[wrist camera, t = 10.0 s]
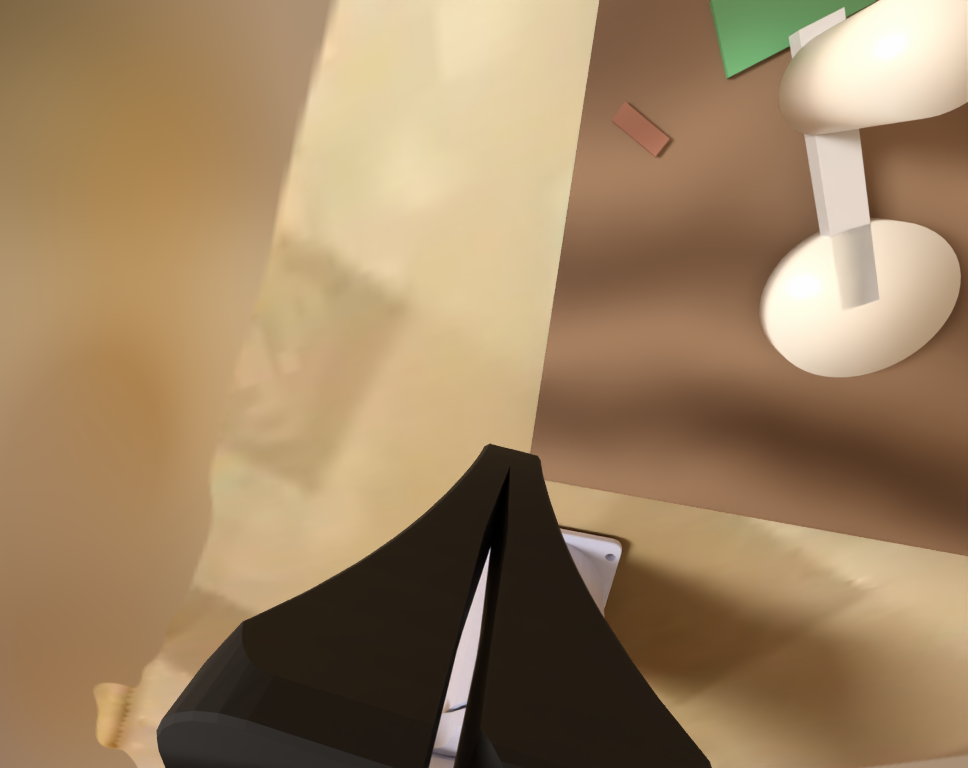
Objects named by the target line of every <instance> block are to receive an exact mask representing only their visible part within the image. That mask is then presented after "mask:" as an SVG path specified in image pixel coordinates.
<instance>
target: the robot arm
mask: <svg viewBox="0 0 968 768" xmlns="http://www.w3.org/2000/svg"><path fill="white" fill-rule="evenodd" d="M621 553H622V545H621V543H620V542H619V541H618V540H616V539H612V538H607V537H602V536H596V535H591V534H586V533H581V532H576V531H571V530H565V529H560V527H559V525H558V522H557V519H556V516H555V514H554V511H553V508H552V505H551V502H550V499H549V495H548V492H547V488H546V485H545V481H544V477H543V472H542V466H541V460H540V459H539V457H538V456H537V455H533V454H529V453H525V452H521V451H517V450H513V449H509V448H504V447H500V446H496V445H492V444H488V445H486V446H485V447H484V448H483V450H482V452H481V453H480V455H479V456H478V458H477V459H476V460H475V462H474V463H473V464H472V465H471V467H470V468H469V469H468V470H467V472H466V473H465V474H464V475H463V476H462V477H461V478H460V479H459V480H458V481H457V483H456V484H455V485H454V486H453V487H452V488H451V489H450V490H449V491H448V492H447V493H446V494H445V495H444V496H443V497H442V498H441V499H440V500H439V501H438V502H436V503H435V504H434V505H433V506H432V507H431V508H430V509H429V510H428V511H427V512H426V513H425V514H423V515H422V516H421V517H420V518H419V519H417V520H416V521H415V522H414V523H413V524H411V525H410V526H409V527H408V528H406V529H405V530H404V531H402V532H401V533H400V534H398V535H397V536H396V537H394V538H393V539H392V540H390V541H389V542H387V543H386V544H384V545H383V546H382V547H380V548H379V549H377V550H376V551H374V552H373V553H371V554H370V555H368V556H367V557H365V558H364V559H362V560H361V561H359V562H357V563H356V564H354V565H353V566H351V567H349V568H347V569H346V570H344V571H342V572H340V573H338V574H337V575H335V576H333V577H331V578H330V579H328V580H326V581H324V582H323V583H321V584H319V585H317V586H316V587H314V588H312V589H310V590H308V591H306V592H304V593H302V594H300V595H298V596H296V597H294V598H292V599H290V600H288V601H286V602H284V603H281V604H279V605H277V606H275V607H273V608H271V609H269V610H267V611H265V612H263V613H260V614H258V615H256V616H254V617H252V618H250V619H247V620H245V621H243V622H242V623H241V624H240V625H239V626H238V627H237V628H236V629H235V630H234V631H233V632H232V634H231V635H230V636H229V637H228V638H227V639H226V640H225V641H224V642H223V643H222V644H221V646H220V647H219V648H218V649H217V650H216V651H215V652H214V653H213V654H212V655H211V656H210V658H209V659H208V660H207V661H206V662H205V663H204V665H203V666H202V667H201V668H200V670H199V671H198V672H197V674H196V675H195V676H194V678H193V679H192V680H191V682H190V683H189V684H188V686H187V687H186V688H185V690H184V691H183V692H182V694H181V695H180V696H179V698H178V699H177V700H176V702H175V703H174V704H173V706H172V707H171V708H170V710H169V711H168V712H167V714H166V715H165V716H164V718H163V719H162V720H161V723H160V725H159V727H158V729H157V742H158V748H159V753H160V755H161V758H162V760H163V763H164V765H165V768H712V767H711V764H710V761H709V760H708V759H707V757H706V756H705V755H704V754H703V753H702V751H701V750H700V749H699V748H698V746H697V745H696V744H695V743H694V741H693V740H692V739H691V738H690V736H689V735H688V734H687V733H686V731H685V730H684V729H683V728H682V727H681V725H680V724H679V723H678V722H677V720H676V719H675V718H674V717H673V715H672V714H671V713H670V712H669V710H668V709H667V708H666V707H665V705H664V704H663V703H662V702H661V701H660V699H659V698H658V697H657V695H656V694H655V693H654V691H653V690H652V688H651V687H650V686H649V684H648V683H647V681H646V680H645V679H644V677H643V676H642V674H641V673H640V672H639V670H638V669H637V668H636V666H635V665H634V663H633V662H632V660H631V659H630V657H629V655H628V654H627V652H626V651H625V649H624V648H623V646H622V645H621V643H620V642H619V640H618V639H617V637H616V635H615V634H614V632H613V631H612V629H611V628H610V626H609V625H608V623H607V622H606V620H605V617H604V608H605V605H606V602H607V598H608V595H609V592H610V589H611V586H612V582H613V579H614V576H615V573H616V569H617V566H618V563H619V560H620V557H621ZM607 554H613V555H607Z"/></svg>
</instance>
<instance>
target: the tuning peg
mask: <svg viewBox="0 0 968 768" xmlns="http://www.w3.org/2000/svg"><path fill="white" fill-rule="evenodd" d="M789 43H790V49H791V55H792V60H791V62H790V63H789V65H788V67H787V69H786V71H785V72H784V75H783V78H782V80H781V84H780V89H779V108H780V112H781V114H782V116H783V118H784V120H785V122H786V123H787V124H788V125H789V126H790V127H791V128H793V129H794V130H796V131H798V132H800V133H803V134H804V136H805V142H806V148H807V155H808V161H809V167H810V173H811V179H812V186H813V192H814V198H815V204H816V210H817V217H818V223H819V229H820V231H818V232H816V233H814V234H812V235H811V236H809V237H807V238H806V239H804V240H803V241H802V242H800V243H799V244H797V245H796V246H795V247H794V248H793V249H791V250H790V251H789V252H788V253H787V254H786V255H785V256H784V257H783V258H782V259H781V261H780V262H779V263H778V264H777V266H776V267H775V268H774V270H773V271H772V273H771V275H770V276H769V278H768V280H767V282H766V284H765V286H764V289H763V292H762V295H761V300H760V306H759V317H760V324H761V327H762V330H763V333H764V335H765V337H766V339H767V340H768V341H769V343H770V344H771V345H772V346H773V347H774V348H775V349H776V350H777V351H778V352H779V353H780V354H781V355H783V356H784V357H785V358H786V359H787V360H788V361H789V362H791V363H792V364H794V365H795V366H796V367H798V368H800V369H802V370H804V371H806V372H809V373H812V374H815V375H820V376H825V377H854V376H860V375H865V374H870V373H873V372H876V371H879V370H882V369H885V368H887V367H890V366H892V365H894V364H896V363H898V362H900V361H902V360H904V359H905V358H907V357H909V356H910V355H912V354H913V353H915V352H916V351H917V350H919V349H920V348H921V347H923V346H924V345H925V344H926V343H927V342H928V341H929V340H930V339H931V338H932V337H934V335H935V334H936V333H937V332H938V331H939V330H940V329H941V327H942V326H943V325H944V323H945V322H946V320H947V319H948V317H949V316H950V314H951V312H952V310H953V308H954V306H955V303H956V300H957V298H958V294H959V290H960V282H961V273H960V266H959V262H958V259H957V256H956V254H955V252H954V251H953V249H952V247H951V246H950V245H949V244H948V243H947V241H946V240H945V239H944V238H942V237H941V236H940V235H938V234H937V233H936V232H934V231H932V230H930V229H928V228H926V227H923V226H920V225H917V224H914V223H908V222H902V221H895V220H889V219H882V218H870V216H869V208H868V199H867V191H866V183H865V174H864V166H863V158H862V149H861V141H860V133H859V129H860V128H866V127H872V126H879V125H885V124H892V123H898V122H905V121H911V120H918V119H924V118H930V117H934V116H938V115H941V114H944V113H947V112H949V111H952V110H954V109H956V108H958V107H960V106H962V105H963V104H965V103H967V102H968V0H879V1H877V2H876V3H874V4H872V5H870V6H869V7H867V8H865V9H863V10H861V11H860V12H858V13H856V14H854V15H853V16H851V17H849V18H847V19H846V16H845V8H844V7H843V8H842V9H840V10H838V11H836V12H834V13H832V14H830V15H828V16H826V17H824V18H822V19H820V20H818V21H816V22H814V23H812V24H810V25H808V26H806V27H804V28H802V29H800V30H799V31H797V32H795V33H794V34H792V35H791V36H789Z"/></svg>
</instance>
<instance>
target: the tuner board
mask: <svg viewBox="0 0 968 768" xmlns="http://www.w3.org/2000/svg"><path fill="white" fill-rule="evenodd" d="M877 1H879V0H599V7H598V13H597V20H596V26H595V33H594V40H593V46H592V53H591V59H590V66H589V72H588V79H587V85H586V92H585V98H584V105H583V112H582V118H581V125H580V131H579V138H578V144H577V151H576V157H575V164H574V171H573V177H572V184H571V190H570V197H569V203H568V210H567V216H566V223H565V230H564V236H563V243H562V249H561V256H560V262H559V269H558V275H557V282H556V289H555V295H554V302H553V308H552V315H551V321H550V328H549V334H548V341H547V348H546V354H545V361H544V367H543V374H542V380H541V387H540V393H539V400H538V407H537V413H536V420H535V426H534V433H533V439H532V446H531V452H530V454H533V455H537V456H538V457H539V459H540V460H541V466H542V472H543V477H544V480H546V481H552V482H558V483H563V484H569V485H574V486H580V487H585V488H591V489H597V490H602V491H608V492H613V493H619V494H624V495H630V496H636V497H641V498H647V499H652V500H658V501H664V502H669V503H675V504H680V505H686V506H691V507H697V508H703V509H708V510H714V511H719V512H725V513H730V514H736V515H742V516H747V517H753V518H758V519H764V520H769V521H775V522H781V523H786V524H792V525H797V526H803V527H808V528H814V529H820V530H825V531H831V532H836V533H842V534H848V535H853V536H859V537H864V538H870V539H875V540H881V541H887V542H892V543H898V544H903V545H909V546H914V547H920V548H926V549H931V550H937V551H942V552H948V553H953V554H959V555H965V556H968V102H967V103H965V104H963V105H962V106H960V107H958V108H956V109H954V110H952V111H949V112H947V113H944V114H941V115H938V116H934V117H930V118H924V119H918V120H911V121H905V122H898V123H892V124H885V125H879V126H872V127H866V128H860V129H859V133H860V141H861V149H862V158H863V166H864V174H865V183H866V191H867V199H868V208H869V216H870V218H882V219H889V220H895V221H902V222H908V223H914V224H917V225H920V226H923V227H926V228H928V229H930V230H932V231H934V232H936V233H937V234H938V235H940V236H941V237H942V238H944V239H945V240H946V241H947V243H948V244H949V245H950V246H951V247H952V249H953V251H954V252H955V254H956V256H957V259H958V262H959V266H960V273H961V282H960V290H959V294H958V298H957V300H956V303H955V306H954V308H953V310H952V312H951V314H950V316H949V317H948V319H947V320H946V322H945V323H944V325H943V326H942V327H941V329H940V330H939V331H938V332H937V333H936V334H935V335H934V337H932V338H931V339H930V340H929V341H928V342H927V343H926V344H925V345H924V346H923V347H921V348H920V349H919V350H917V351H916V352H915V353H913V354H912V355H910V356H909V357H907V358H905V359H904V360H902V361H900V362H898V363H896V364H894V365H892V366H890V367H887V368H885V369H882V370H879V371H876V372H873V373H870V374H865V375H860V376H854V377H825V376H820V375H815V374H812V373H809V372H806V371H804V370H802V369H800V368H798V367H796V366H795V365H794V364H792V363H791V362H789V361H788V360H787V359H786V358H785V357H784V356H783V355H781V354H780V353H779V352H778V351H777V350H776V349H775V348H774V347H773V346H772V345H771V344H770V343H769V341H768V340H767V339H766V337H765V335H764V333H763V330H762V327H761V324H760V317H759V306H760V300H761V295H762V292H763V289H764V286H765V284H766V282H767V280H768V278H769V276H770V275H771V273H772V271H773V270H774V268H775V267H776V266H777V264H778V263H779V262H780V261H781V259H782V258H783V257H784V256H785V255H786V254H787V253H788V252H789V251H790V250H791V249H793V248H794V247H795V246H796V245H797V244H799V243H800V242H802V241H803V240H804V239H806V238H807V237H809V236H811V235H812V234H814V233H816V232H818V231H820V229H819V223H818V217H817V210H816V204H815V198H814V192H813V186H812V179H811V173H810V167H809V161H808V155H807V148H806V142H805V136H804V134H803V133H800V132H798V131H796V130H794V129H793V128H791V127H790V126H789V125H788V124H787V123H786V122H785V120H784V118H783V116H782V114H781V112H780V108H779V89H780V84H781V80H782V78H783V75H784V72H785V71H786V69H787V67H788V65H789V63H790V62H791V60H792V55H791V49H790V43H789V36H791V35H792V34H794V33H795V32H797V31H799V30H800V29H802V28H804V27H806V26H808V25H810V24H812V23H814V22H816V21H818V20H820V19H822V18H824V17H826V16H828V15H830V14H832V13H834V12H836V11H838V10H840V9H842V8H843V7H844V8H845V16H846V19H847V18H849V17H851V16H853V15H854V14H856V13H858V12H860V11H861V10H863V9H865V8H867V7H869V6H870V5H872V4H874V3H876V2H877Z"/></svg>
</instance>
